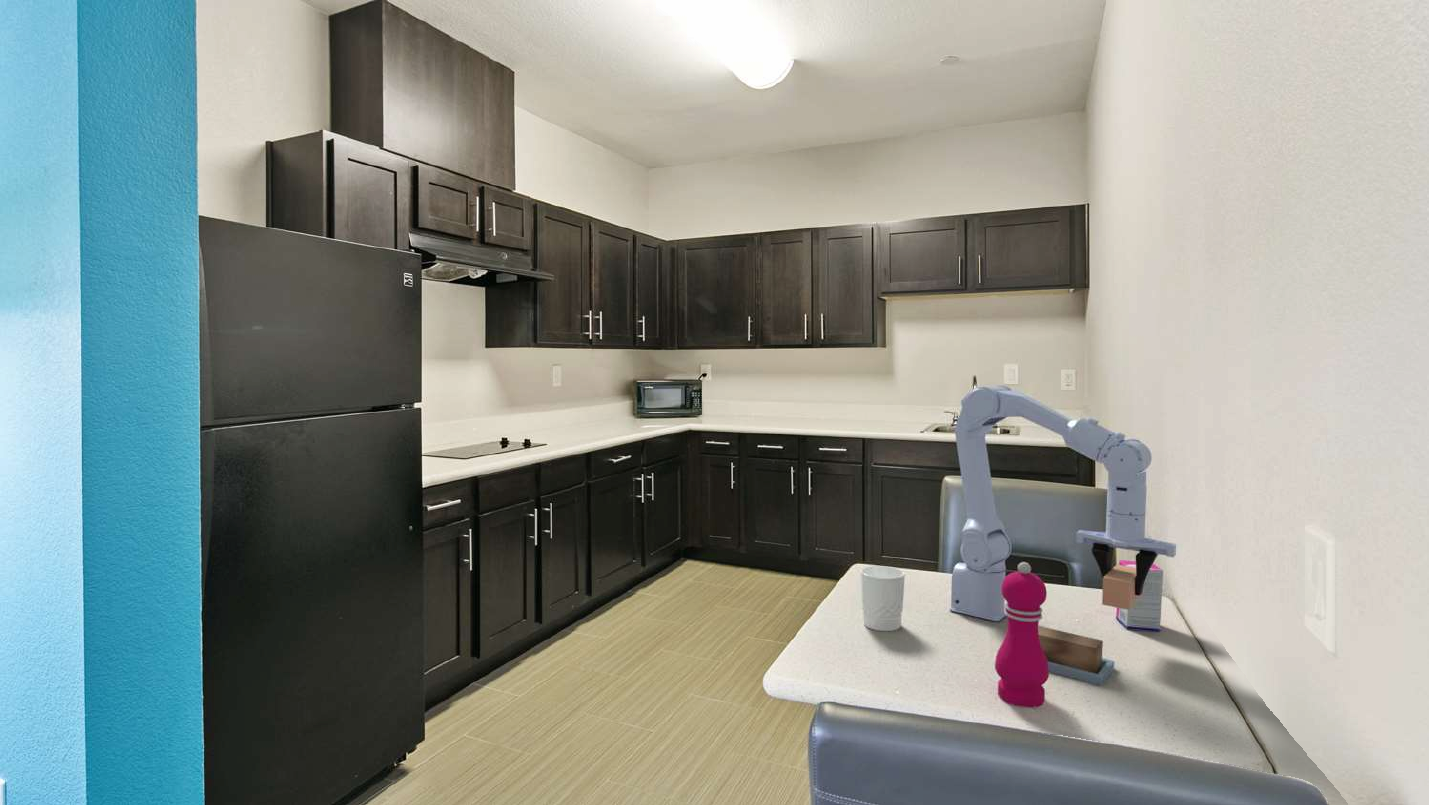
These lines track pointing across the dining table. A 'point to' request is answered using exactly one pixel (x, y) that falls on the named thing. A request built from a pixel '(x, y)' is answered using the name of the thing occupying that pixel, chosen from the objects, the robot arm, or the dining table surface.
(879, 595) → the white cup
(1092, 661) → the wooden block on base
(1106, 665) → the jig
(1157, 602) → the supplement box
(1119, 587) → the pinkish tan block
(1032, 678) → the pepper mill
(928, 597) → the dining table surface
